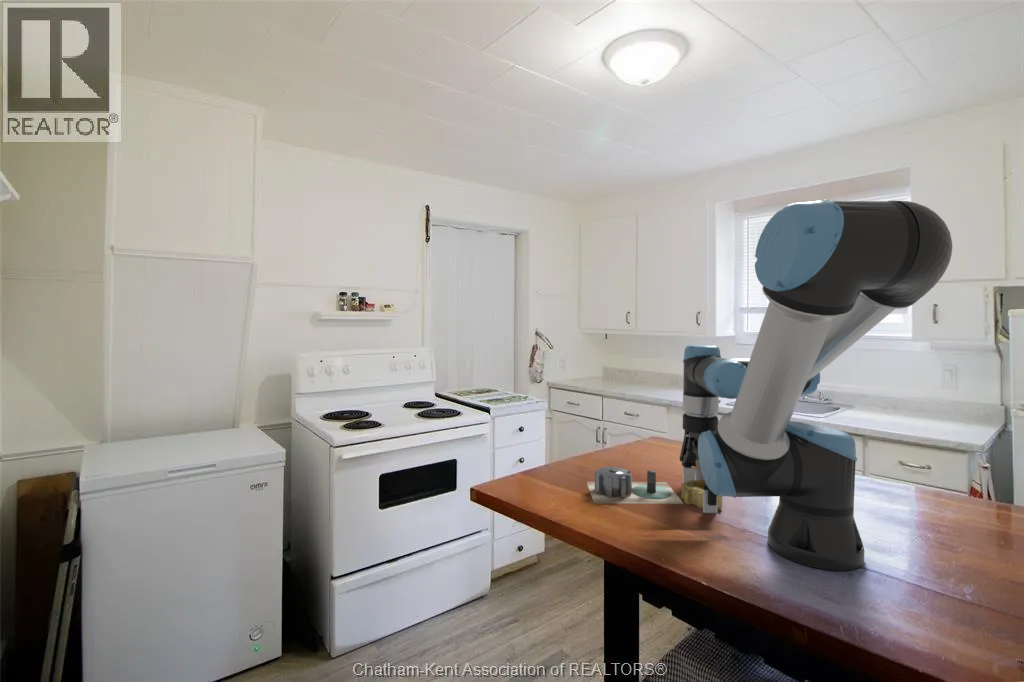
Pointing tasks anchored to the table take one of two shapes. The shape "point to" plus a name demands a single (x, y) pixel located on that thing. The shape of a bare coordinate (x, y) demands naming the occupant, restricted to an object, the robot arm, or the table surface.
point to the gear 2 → (696, 493)
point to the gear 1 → (613, 482)
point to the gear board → (640, 492)
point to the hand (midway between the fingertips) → (698, 506)
